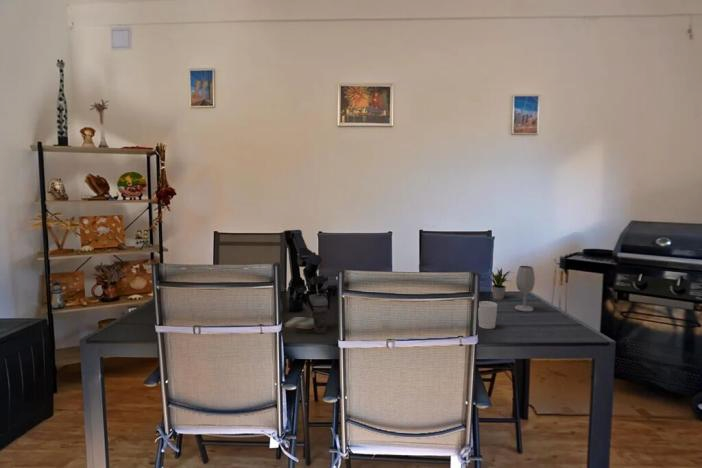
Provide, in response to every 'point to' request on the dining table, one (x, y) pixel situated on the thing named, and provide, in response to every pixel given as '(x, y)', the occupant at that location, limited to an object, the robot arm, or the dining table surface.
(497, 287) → the house plant
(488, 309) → the white cup
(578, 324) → the dining table surface
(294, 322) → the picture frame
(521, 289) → the wineglass
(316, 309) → the beverage cup
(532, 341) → the dining table surface
